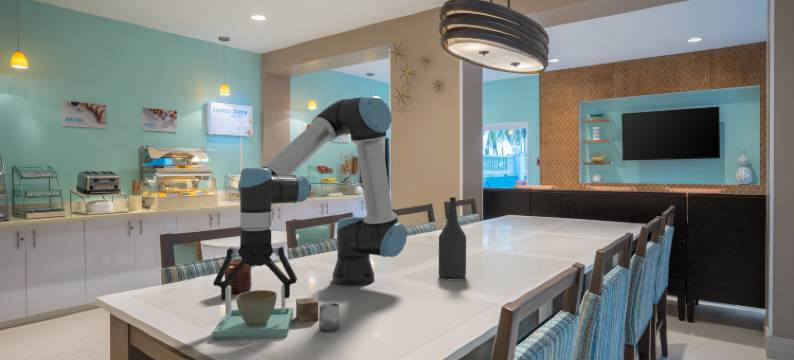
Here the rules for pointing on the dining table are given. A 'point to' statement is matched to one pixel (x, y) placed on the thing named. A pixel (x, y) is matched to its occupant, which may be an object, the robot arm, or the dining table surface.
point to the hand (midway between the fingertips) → (256, 311)
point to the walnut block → (307, 310)
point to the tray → (238, 329)
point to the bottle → (452, 247)
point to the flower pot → (256, 306)
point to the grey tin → (329, 317)
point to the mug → (239, 277)
